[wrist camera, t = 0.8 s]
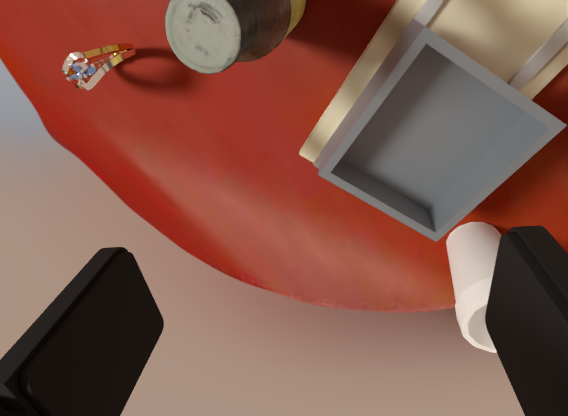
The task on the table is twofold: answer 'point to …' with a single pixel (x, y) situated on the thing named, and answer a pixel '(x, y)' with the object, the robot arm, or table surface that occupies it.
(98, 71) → the bracelet
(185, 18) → the sauce bottle
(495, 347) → the robot arm
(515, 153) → the grey storage bin
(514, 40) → the track board
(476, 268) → the foam cup
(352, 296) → the table surface
